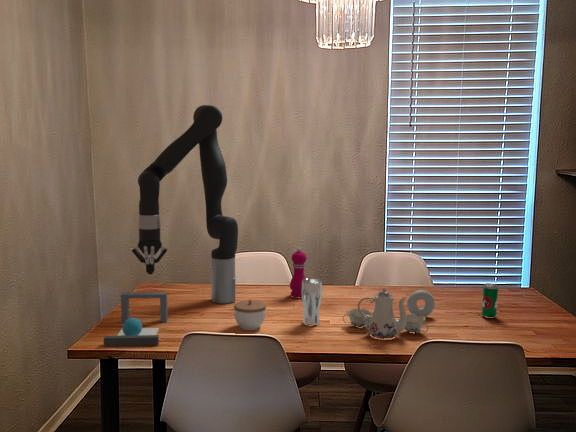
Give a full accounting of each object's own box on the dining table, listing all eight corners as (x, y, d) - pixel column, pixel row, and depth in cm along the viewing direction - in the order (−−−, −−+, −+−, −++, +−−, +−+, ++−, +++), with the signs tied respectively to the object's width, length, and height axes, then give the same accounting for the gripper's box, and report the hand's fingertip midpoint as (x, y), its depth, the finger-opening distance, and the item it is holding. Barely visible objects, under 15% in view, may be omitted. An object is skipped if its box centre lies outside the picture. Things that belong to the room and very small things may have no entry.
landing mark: (159, 328, 180) (159, 327, 180) (153, 341, 169) (153, 340, 169) (121, 329, 179) (121, 328, 179) (113, 341, 168) (113, 341, 168)
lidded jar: (254, 334, 176) (254, 306, 174) (227, 329, 181) (227, 301, 180) (271, 325, 185) (272, 298, 184) (245, 320, 190) (245, 294, 189)
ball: (138, 330, 168) (140, 341, 172) (143, 314, 172) (144, 326, 176) (119, 328, 168) (121, 340, 172) (123, 313, 172) (126, 325, 176)
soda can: (497, 319, 194) (499, 286, 192) (482, 318, 195) (484, 286, 193) (495, 315, 199) (497, 283, 197) (480, 314, 200) (482, 282, 198)
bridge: (123, 319, 189) (122, 292, 188) (167, 319, 190) (167, 292, 189) (121, 322, 186) (120, 294, 185) (166, 322, 187) (165, 294, 186)
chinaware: (426, 333, 183) (428, 284, 183) (429, 346, 167) (431, 292, 167) (343, 327, 189) (345, 279, 189) (338, 338, 173) (340, 286, 172)
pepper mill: (305, 299, 217) (306, 249, 214) (287, 298, 218) (288, 248, 216) (308, 294, 224) (309, 246, 221) (291, 293, 225) (292, 245, 223)
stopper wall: (158, 342, 167) (158, 335, 167) (157, 345, 165) (157, 337, 165) (105, 343, 166) (105, 335, 166) (103, 346, 164) (103, 338, 164)
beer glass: (323, 321, 190) (324, 279, 188) (318, 327, 183) (319, 284, 181) (304, 319, 192) (305, 277, 190) (298, 325, 185) (299, 282, 183)
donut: (432, 315, 198) (433, 288, 196) (435, 318, 194) (436, 291, 193) (405, 315, 197) (406, 288, 196) (407, 318, 194) (409, 291, 192)
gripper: (128, 228, 193) (129, 276, 195) (166, 228, 194) (167, 276, 196) (132, 225, 200) (134, 271, 202) (169, 225, 201) (170, 271, 203)
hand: (150, 273), depth 199 cm, fingers closed
